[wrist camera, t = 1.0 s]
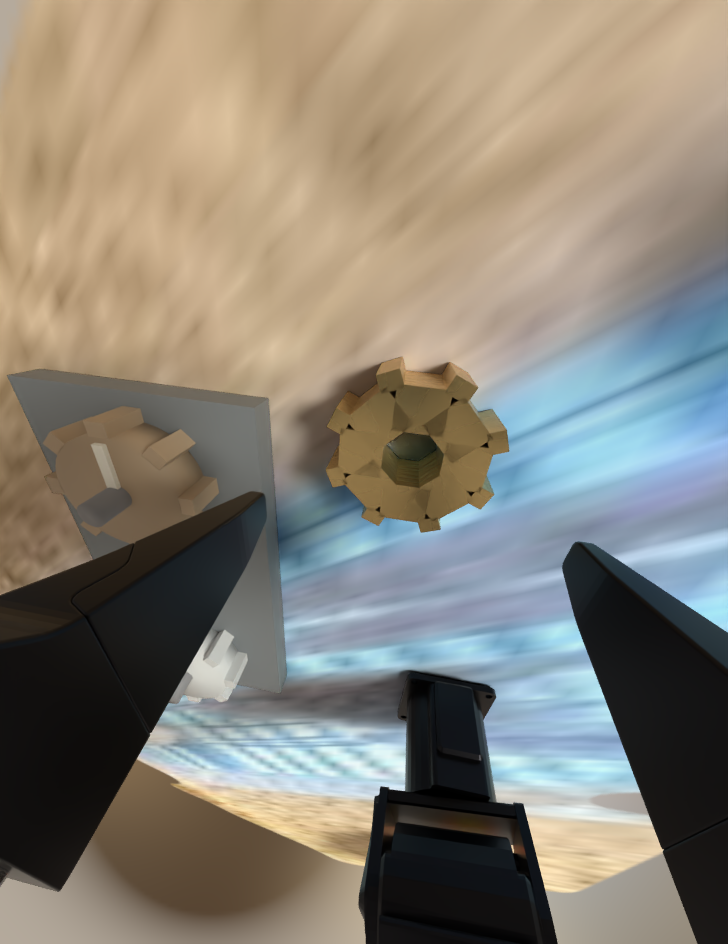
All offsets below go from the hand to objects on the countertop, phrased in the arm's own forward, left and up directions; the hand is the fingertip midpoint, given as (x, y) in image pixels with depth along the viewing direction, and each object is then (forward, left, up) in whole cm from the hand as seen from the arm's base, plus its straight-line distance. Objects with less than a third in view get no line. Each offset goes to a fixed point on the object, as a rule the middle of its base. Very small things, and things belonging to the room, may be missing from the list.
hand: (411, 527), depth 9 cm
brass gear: (0, 0, -7) cm, 7 cm away
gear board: (-11, +13, -7) cm, 18 cm away
